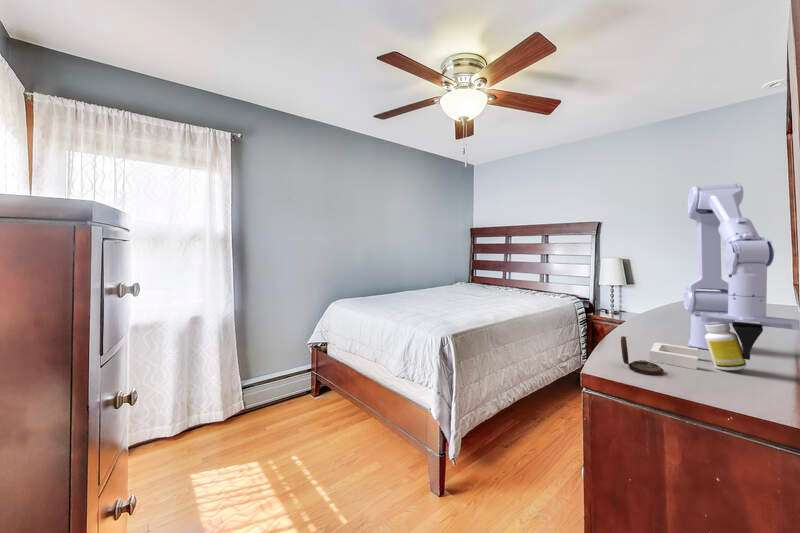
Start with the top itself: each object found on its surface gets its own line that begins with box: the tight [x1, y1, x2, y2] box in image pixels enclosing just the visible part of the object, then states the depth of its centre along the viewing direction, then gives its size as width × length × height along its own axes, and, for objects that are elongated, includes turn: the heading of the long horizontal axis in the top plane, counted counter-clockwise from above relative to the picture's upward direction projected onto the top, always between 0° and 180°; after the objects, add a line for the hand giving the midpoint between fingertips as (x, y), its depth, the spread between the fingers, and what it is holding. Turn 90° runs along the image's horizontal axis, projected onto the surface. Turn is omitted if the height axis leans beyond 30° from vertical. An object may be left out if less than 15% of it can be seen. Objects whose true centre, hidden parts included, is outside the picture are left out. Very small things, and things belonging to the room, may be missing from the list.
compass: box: [620, 335, 664, 376], centre depth 75 cm, size 8×8×7 cm
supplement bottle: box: [705, 322, 748, 371], centre depth 74 cm, size 5×5×10 cm
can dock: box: [649, 342, 700, 370], centre depth 80 cm, size 10×8×2 cm
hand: (745, 358), depth 71 cm, fingers closed, pressing on supplement bottle
